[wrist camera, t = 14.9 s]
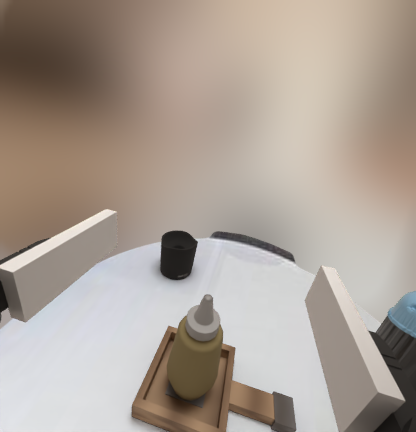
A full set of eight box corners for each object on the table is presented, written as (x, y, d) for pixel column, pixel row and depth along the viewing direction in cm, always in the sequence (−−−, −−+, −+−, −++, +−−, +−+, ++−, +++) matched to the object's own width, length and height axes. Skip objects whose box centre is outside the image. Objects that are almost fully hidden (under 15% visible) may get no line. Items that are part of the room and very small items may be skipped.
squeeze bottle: (166, 354, 38) (177, 274, 31) (211, 354, 39) (232, 278, 32) (162, 411, 31) (175, 324, 23) (217, 409, 32) (246, 326, 25)
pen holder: (154, 277, 56) (157, 245, 52) (164, 257, 65) (167, 228, 61) (189, 284, 56) (195, 252, 52) (194, 262, 65) (199, 234, 61)
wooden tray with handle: (285, 375, 39) (290, 365, 38) (296, 482, 27) (304, 472, 26) (167, 336, 42) (168, 325, 41) (131, 416, 30) (132, 404, 29)
